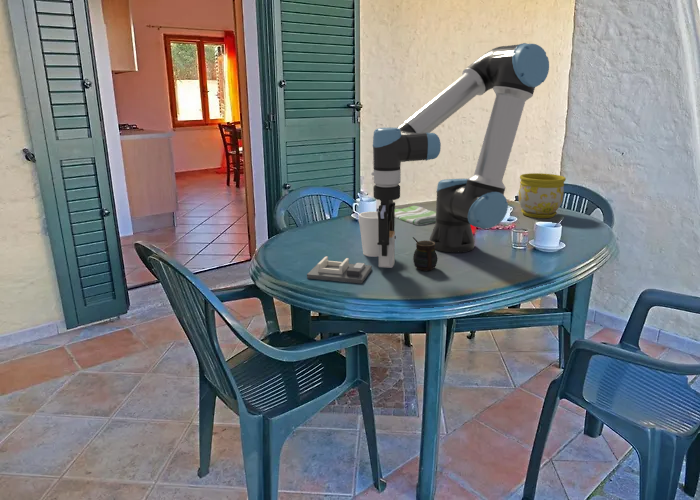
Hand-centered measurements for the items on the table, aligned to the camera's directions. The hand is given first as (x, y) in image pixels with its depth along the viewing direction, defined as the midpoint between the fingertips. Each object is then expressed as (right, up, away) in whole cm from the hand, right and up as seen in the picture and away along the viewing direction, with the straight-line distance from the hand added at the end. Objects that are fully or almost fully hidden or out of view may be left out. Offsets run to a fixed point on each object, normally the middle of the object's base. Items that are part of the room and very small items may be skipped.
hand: (386, 262), depth 150 cm
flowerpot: (+69, +19, +67) cm, 98 cm away
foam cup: (-3, +2, +16) cm, 17 cm away
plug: (0, -1, 0) cm, 1 cm away
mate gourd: (+11, -2, +2) cm, 12 cm away
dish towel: (+17, +17, +64) cm, 68 cm away
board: (-14, -3, -2) cm, 14 cm away
